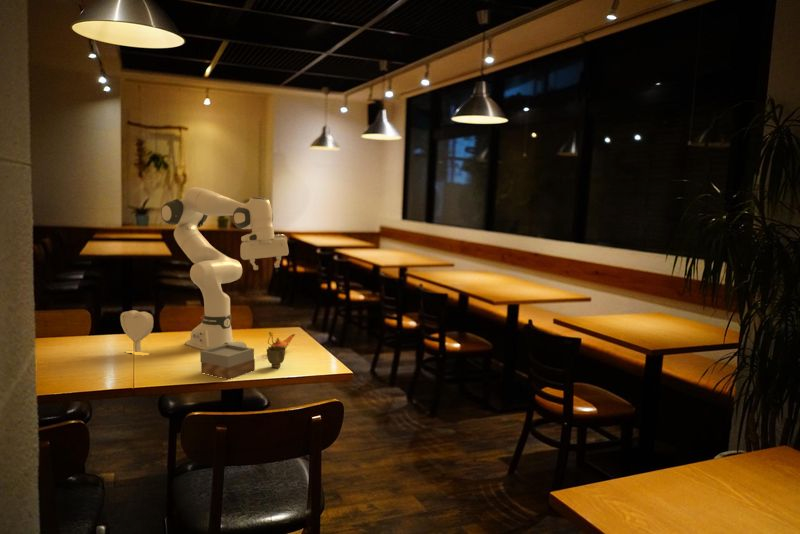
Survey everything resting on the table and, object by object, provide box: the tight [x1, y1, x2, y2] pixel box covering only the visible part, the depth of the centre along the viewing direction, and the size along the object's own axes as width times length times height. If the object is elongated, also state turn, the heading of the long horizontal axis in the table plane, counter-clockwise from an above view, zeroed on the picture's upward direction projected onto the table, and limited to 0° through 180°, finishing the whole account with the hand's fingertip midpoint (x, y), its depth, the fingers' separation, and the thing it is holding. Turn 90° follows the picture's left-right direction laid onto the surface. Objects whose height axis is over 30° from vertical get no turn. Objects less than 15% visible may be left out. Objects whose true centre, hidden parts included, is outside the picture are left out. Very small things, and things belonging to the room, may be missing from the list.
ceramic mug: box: [224, 340, 248, 347], centre depth 250 cm, size 11×8×8 cm
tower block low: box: [200, 358, 256, 380], centre depth 231 cm, size 14×14×5 cm
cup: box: [266, 345, 287, 369], centre depth 238 cm, size 8×7×8 cm
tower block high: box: [199, 344, 255, 368], centre depth 230 cm, size 14×14×4 cm
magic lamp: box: [267, 331, 296, 349], centre depth 259 cm, size 7×18×11 cm, turn 151°
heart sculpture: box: [119, 309, 154, 352], centre depth 253 cm, size 16×5×18 cm, turn 65°
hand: (266, 268), depth 249 cm, fingers open, 8 cm apart
